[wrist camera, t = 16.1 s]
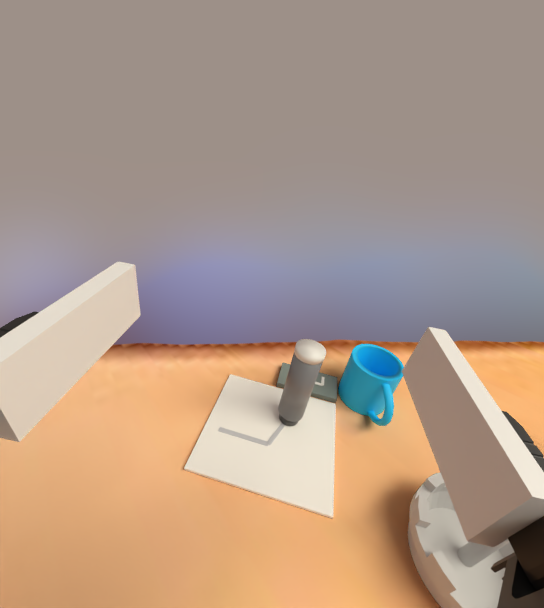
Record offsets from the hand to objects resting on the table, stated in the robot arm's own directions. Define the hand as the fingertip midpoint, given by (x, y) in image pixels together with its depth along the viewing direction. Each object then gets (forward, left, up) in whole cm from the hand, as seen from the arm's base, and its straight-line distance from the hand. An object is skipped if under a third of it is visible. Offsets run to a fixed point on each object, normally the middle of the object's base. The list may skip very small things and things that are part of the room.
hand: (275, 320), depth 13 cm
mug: (+15, +24, -29) cm, 40 cm away
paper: (+1, +14, -28) cm, 32 cm away
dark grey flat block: (+5, +25, -28) cm, 38 cm away
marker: (+3, +17, -28) cm, 33 cm away
